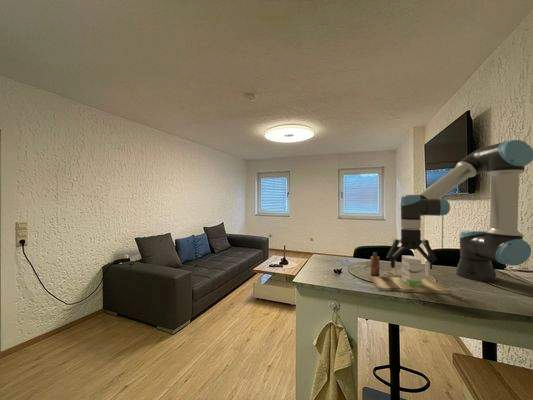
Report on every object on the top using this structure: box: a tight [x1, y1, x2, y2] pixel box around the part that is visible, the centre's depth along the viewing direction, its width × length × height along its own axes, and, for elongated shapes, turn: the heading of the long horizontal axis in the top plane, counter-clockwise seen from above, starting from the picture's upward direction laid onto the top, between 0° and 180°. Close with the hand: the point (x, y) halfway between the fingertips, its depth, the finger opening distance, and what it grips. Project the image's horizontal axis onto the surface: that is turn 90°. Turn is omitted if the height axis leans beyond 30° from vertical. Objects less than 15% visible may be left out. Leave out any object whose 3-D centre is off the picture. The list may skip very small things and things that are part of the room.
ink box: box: [401, 254, 423, 287], centre depth 102 cm, size 9×5×12 cm, turn 171°
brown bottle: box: [370, 252, 380, 277], centre depth 116 cm, size 4×4×12 cm
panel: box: [368, 275, 451, 295], centre depth 103 cm, size 28×14×1 cm, turn 81°
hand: (411, 275), depth 103 cm, fingers open, 13 cm apart
